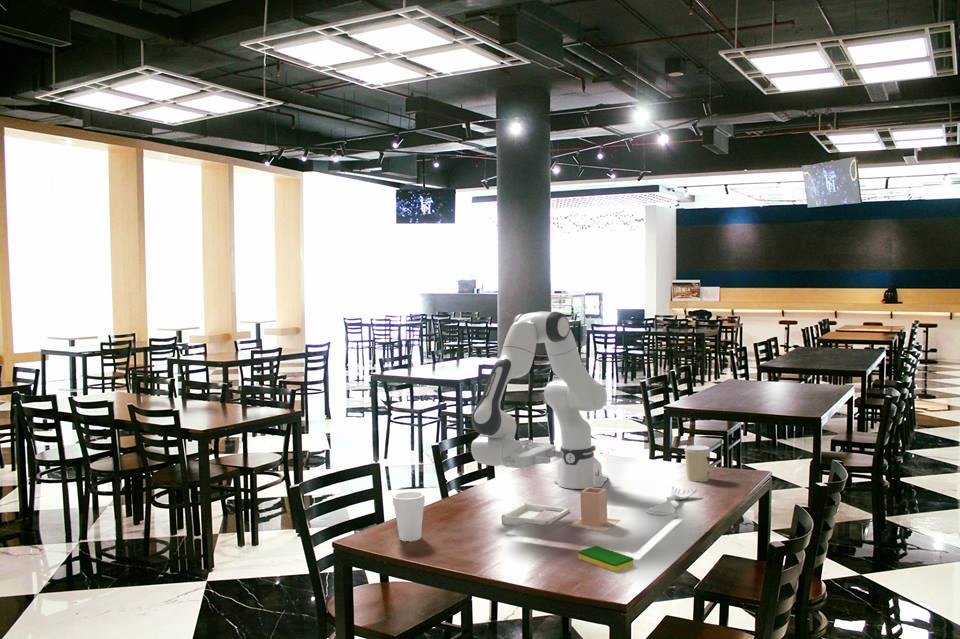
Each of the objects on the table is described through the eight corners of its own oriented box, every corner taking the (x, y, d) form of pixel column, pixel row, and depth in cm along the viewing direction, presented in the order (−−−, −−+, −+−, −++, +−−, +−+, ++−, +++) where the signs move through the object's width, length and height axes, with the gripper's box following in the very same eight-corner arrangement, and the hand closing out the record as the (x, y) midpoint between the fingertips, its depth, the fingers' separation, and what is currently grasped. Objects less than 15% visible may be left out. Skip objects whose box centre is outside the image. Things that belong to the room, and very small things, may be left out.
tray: (525, 510, 257) (525, 503, 257) (569, 516, 249) (569, 508, 249) (501, 523, 244) (501, 515, 243) (547, 530, 235) (547, 522, 235)
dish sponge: (615, 573, 199) (615, 564, 199) (577, 559, 210) (577, 551, 210) (634, 567, 203) (634, 557, 203) (596, 553, 214) (596, 545, 214)
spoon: (698, 497, 267) (697, 487, 267) (669, 522, 239) (669, 511, 239) (672, 494, 271) (672, 484, 271) (641, 519, 244) (641, 508, 244)
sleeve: (589, 519, 240) (588, 487, 240) (607, 521, 237) (606, 489, 236) (581, 524, 235) (580, 491, 234) (599, 526, 232) (598, 493, 231)
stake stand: (584, 520, 244) (583, 493, 244) (620, 524, 238) (619, 497, 238) (568, 530, 234) (567, 502, 234) (605, 536, 228) (604, 507, 227)
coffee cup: (714, 482, 286) (713, 449, 285) (688, 482, 286) (687, 450, 285) (707, 476, 295) (706, 444, 295) (682, 476, 295) (681, 445, 295)
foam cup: (399, 545, 226) (398, 501, 226) (390, 536, 235) (388, 493, 234) (430, 539, 230) (428, 496, 229) (420, 531, 238) (418, 489, 238)
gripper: (500, 450, 240) (540, 453, 232) (531, 438, 257) (569, 441, 250) (501, 470, 240) (541, 474, 233) (531, 457, 257) (569, 461, 250)
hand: (556, 457), depth 241 cm, fingers open, 8 cm apart
